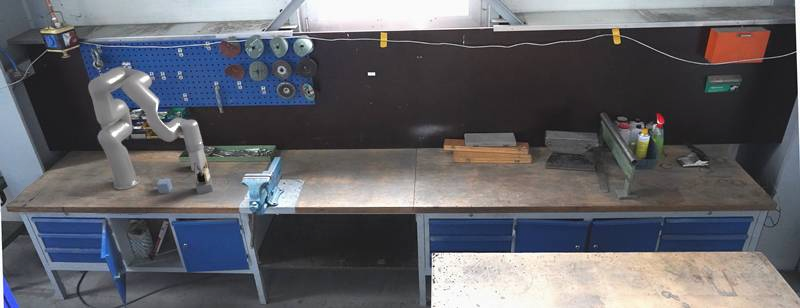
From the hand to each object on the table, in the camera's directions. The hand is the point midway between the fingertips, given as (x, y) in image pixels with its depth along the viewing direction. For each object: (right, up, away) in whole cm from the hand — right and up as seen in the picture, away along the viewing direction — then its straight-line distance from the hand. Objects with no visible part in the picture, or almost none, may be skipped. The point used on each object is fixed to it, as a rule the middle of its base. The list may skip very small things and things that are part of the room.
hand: (203, 178), depth 266 cm
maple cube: (0, -1, 0) cm, 1 cm away
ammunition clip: (-9, +4, +22) cm, 24 cm away
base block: (0, -5, +3) cm, 6 cm away
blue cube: (-20, -6, +4) cm, 21 cm away
